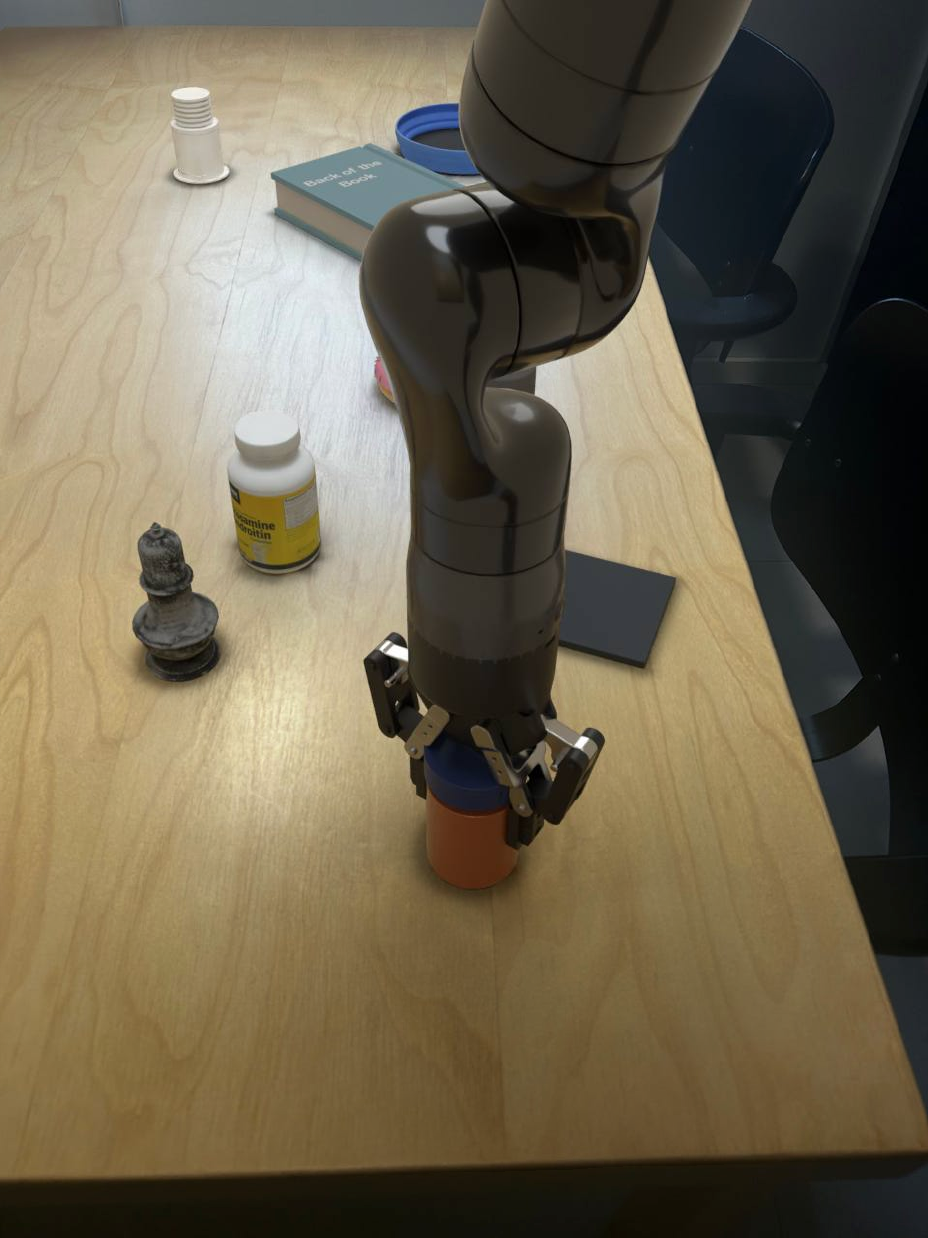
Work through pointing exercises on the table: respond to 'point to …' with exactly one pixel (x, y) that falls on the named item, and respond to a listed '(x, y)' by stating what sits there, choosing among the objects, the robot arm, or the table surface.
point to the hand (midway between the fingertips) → (475, 812)
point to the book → (351, 193)
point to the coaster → (612, 608)
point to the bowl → (434, 139)
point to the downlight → (196, 137)
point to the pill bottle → (274, 493)
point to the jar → (468, 844)
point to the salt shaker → (173, 611)
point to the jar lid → (461, 777)
